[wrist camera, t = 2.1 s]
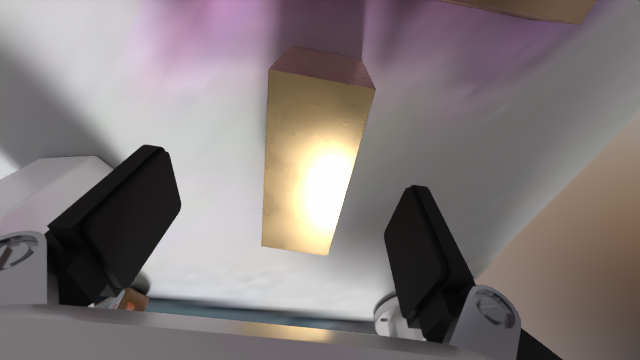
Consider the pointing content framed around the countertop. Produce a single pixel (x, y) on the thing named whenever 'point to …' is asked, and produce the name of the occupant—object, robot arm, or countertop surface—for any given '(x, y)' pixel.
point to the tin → (125, 301)
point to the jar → (46, 191)
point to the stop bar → (311, 145)
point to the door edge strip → (535, 9)
